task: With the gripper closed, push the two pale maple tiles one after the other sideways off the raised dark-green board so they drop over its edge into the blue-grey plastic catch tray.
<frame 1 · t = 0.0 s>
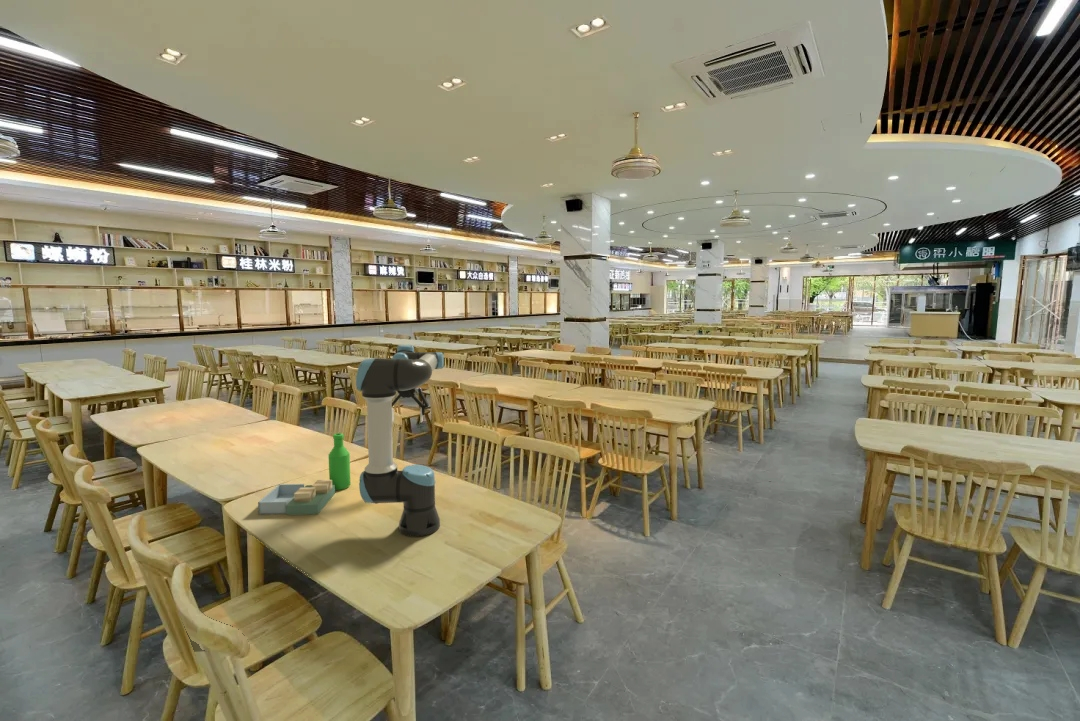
hand: (406, 421, 220), 28 cm above the table, fingers open, 13 cm apart
board: (312, 503, 194), on the table
tile a: (305, 498, 189), point 4 cm above the table, touching board
bottle: (340, 487, 211), on the table
tile b: (322, 490, 198), point 4 cm above the table, touching board
tray: (282, 504, 193), on the table
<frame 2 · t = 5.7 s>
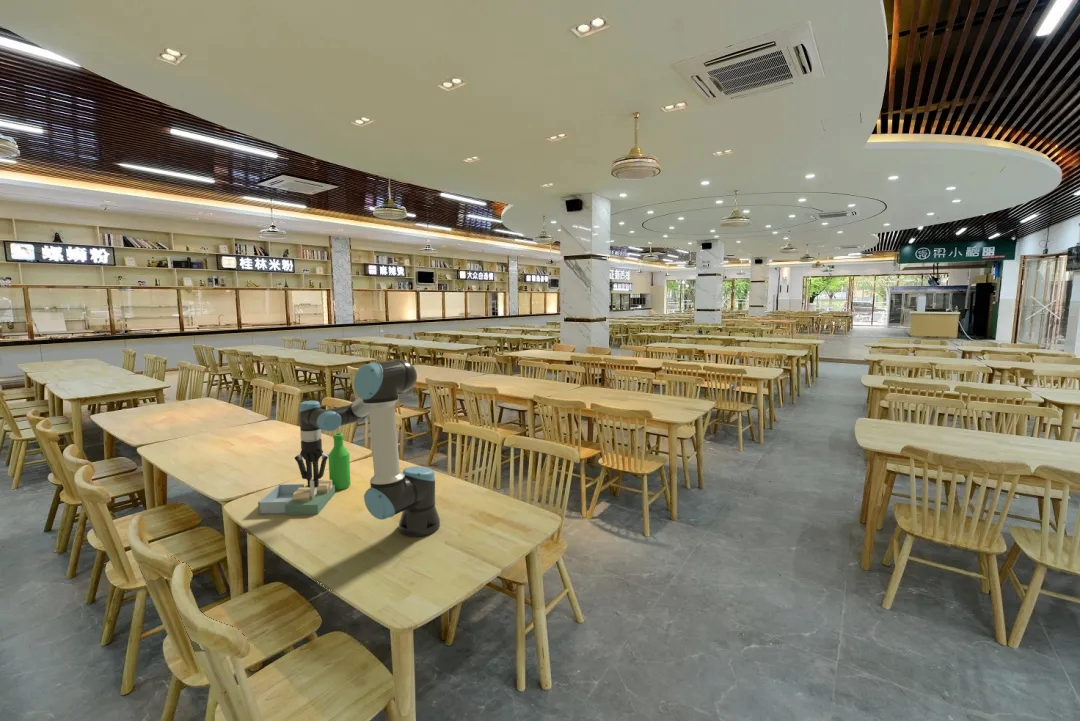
hand: (313, 494, 190), 6 cm above the table, fingers closed
tile a: (304, 498, 189), point 4 cm above the table, touching gripper
everything else where it was.
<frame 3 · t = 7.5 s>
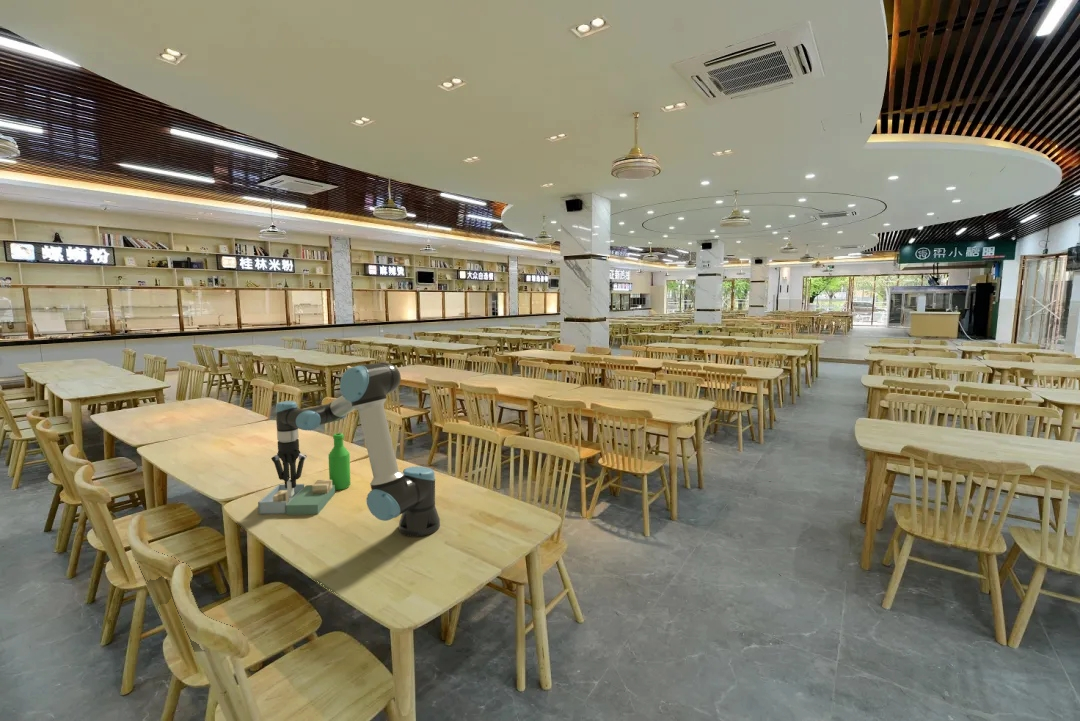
hand: (291, 495, 189), 6 cm above the table, fingers closed
tile a: (285, 500, 189), point 3 cm above the table, tilted 90°, touching tray
everything else where it was.
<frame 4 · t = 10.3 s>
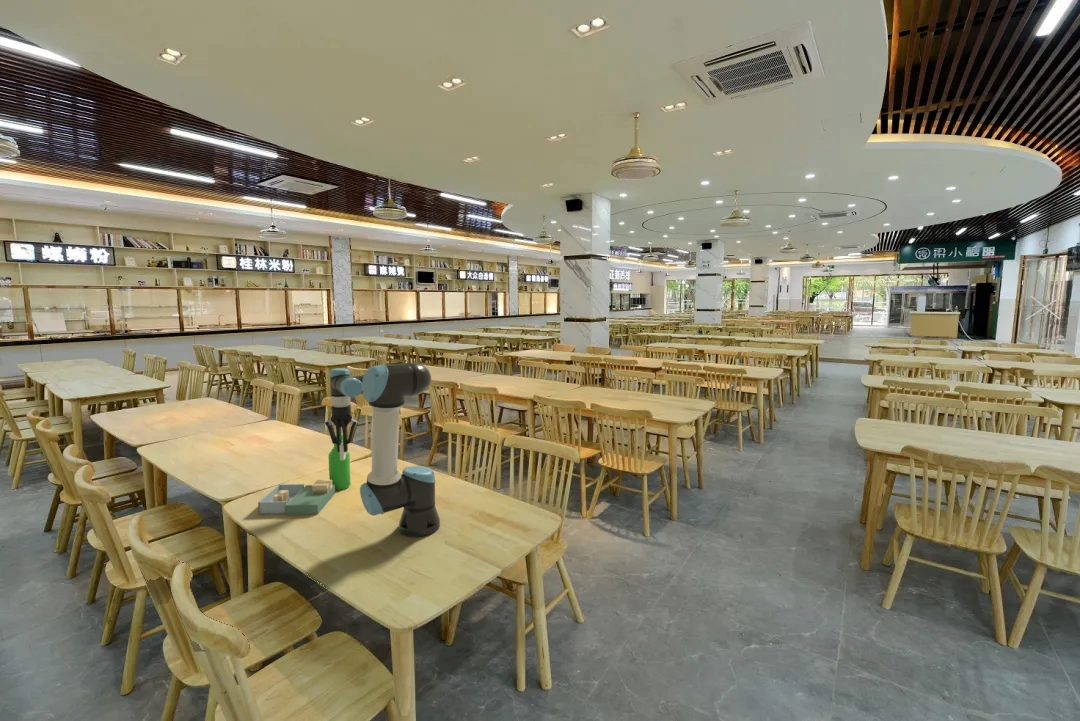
hand: (342, 459, 197), 18 cm above the table, fingers closed
nothing on the table moved.
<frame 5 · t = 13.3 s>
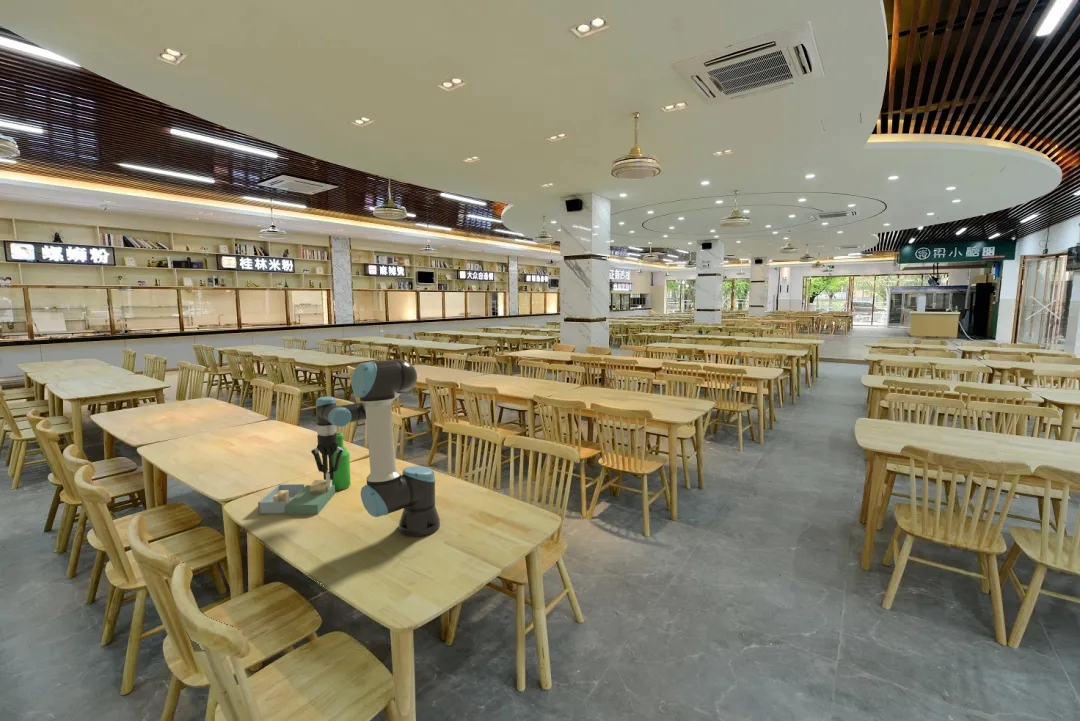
hand: (329, 486, 198), 6 cm above the table, fingers closed
tile b: (320, 490, 198), point 4 cm above the table, touching gripper
everything else where it was.
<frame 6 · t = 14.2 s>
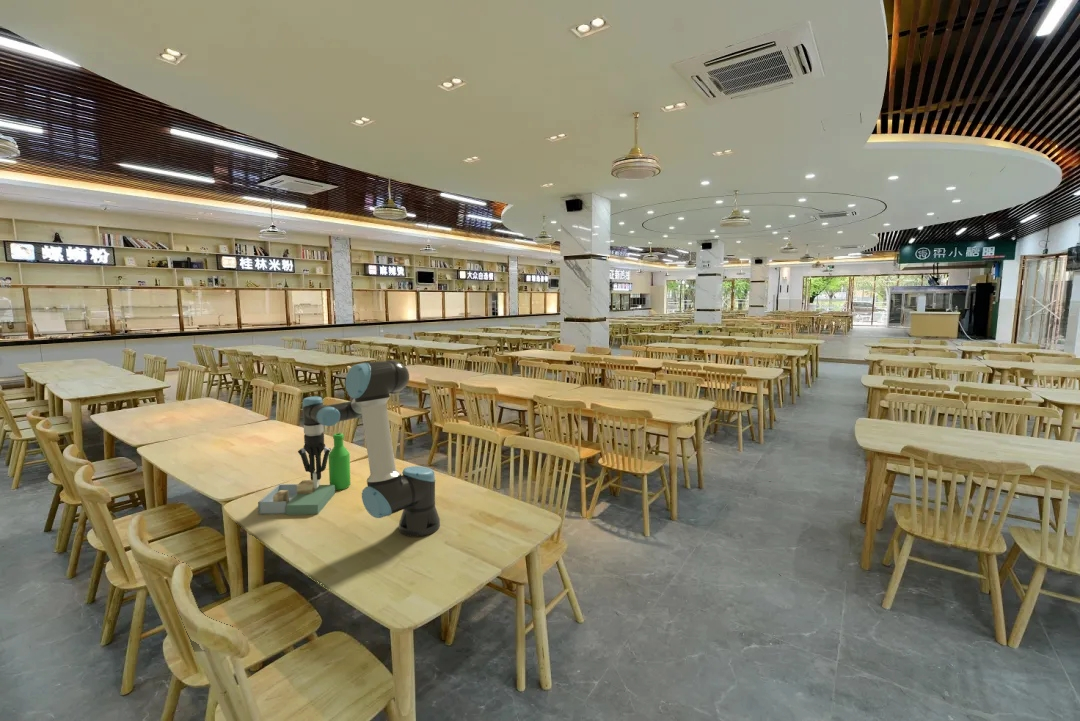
hand: (316, 486, 197), 6 cm above the table, fingers closed
tile b: (307, 490, 197), point 4 cm above the table, touching gripper
everything else where it was.
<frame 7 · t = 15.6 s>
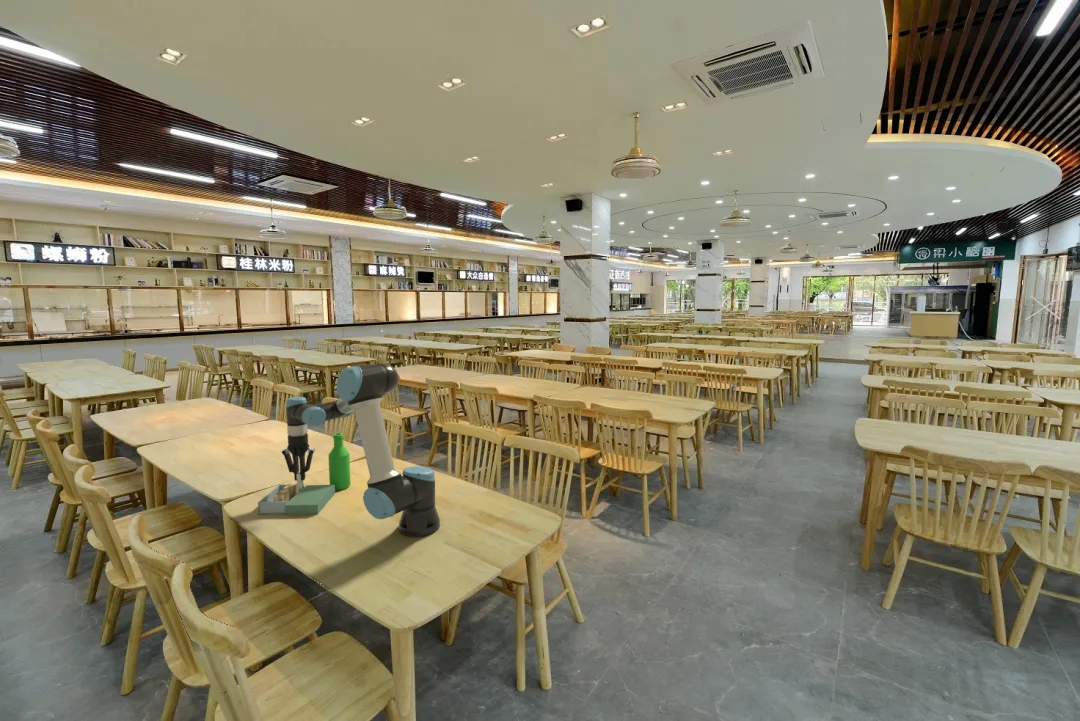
hand: (300, 487, 197), 6 cm above the table, fingers closed
tile b: (295, 492, 197), point 3 cm above the table, tilted 90°, touching tray
everything else where it was.
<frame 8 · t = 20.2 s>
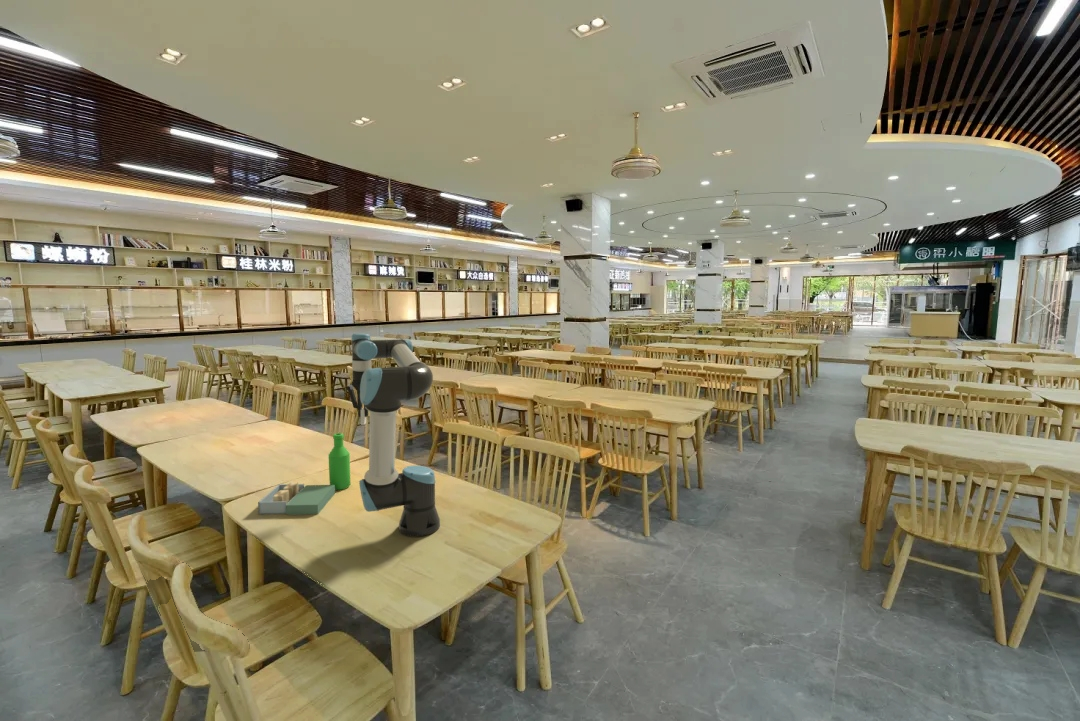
hand: (363, 423, 199), 32 cm above the table, fingers closed
nothing on the table moved.
at the end: tile a inside the target area on the tray (5.0 cm from its centre), point 3.5 cm above the tray's base; tile b inside the target area on the tray (5.5 cm from its centre), point 3.5 cm above the tray's base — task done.
